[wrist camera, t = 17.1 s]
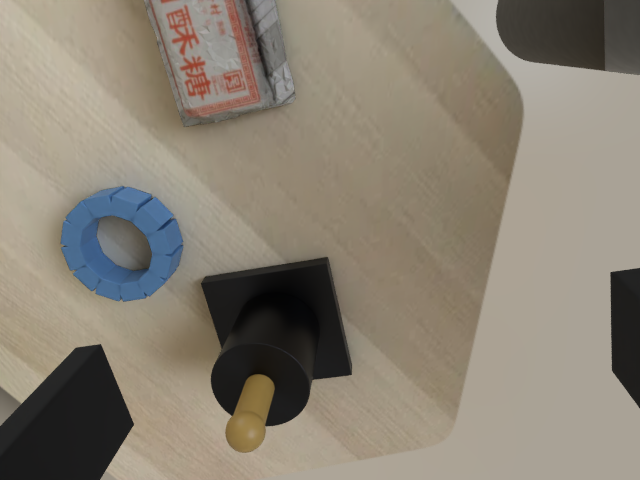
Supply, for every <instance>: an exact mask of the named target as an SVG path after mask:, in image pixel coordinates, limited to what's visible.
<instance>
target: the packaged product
mask: <svg viewBox="0 0 640 480" xmlns="http://www.w3.org/2000/svg"><path fill="white" fill-rule="evenodd" d="M144 3H145V6H146V10H147V13H148V16H149V19H150V23H151V25H152V28H153V30H154V32H155V34H156V36H157V44H158V47H159V50H160V53H161V56H162V60H163V63H164V66H165V69H166V72H167V74H168V77H169V81H170V85H171V88H172V91H173V94H174V98H175V101H176V104H177V107H178V111H179V114H180V117H181V120H182V123H183V126H184V127H187V126H192V125H197V124H207V123H211V122H215V123H216V122H219V121H222V120H227V119H231V118H235V117H238V116H240V115H242V114H246V113H251V112H255V111H259V110H263V109H268V108H272V107H277V106H281V105H286V104H290V103H292V102H293V101H294V100H295V91H294V83H293V80H292V76H291V73H290V70H289V66H288V63H287V59H286V54H285V49H284V44H283V38H282V33H281V27H280V22H279V17H278V12H277V7H276V2H275V0H144Z"/></svg>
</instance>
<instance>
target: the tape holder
mask: <svg viewBox="0 0 640 480" xmlns="http://www.w3.org/2000/svg"><path fill="white" fill-rule="evenodd" d="M201 285H202V288H203V291H204V294H205V298H206V301H207V304H208V307H209V310H210V313H211V316H212V319H213V323H214V326H215V329H216V332H217V335H218V338H219V341H220V344H221V348H222V350H221V352H220V354H219V356H218V358H217V360H216V362H215V364H214V367H213V370H212V374H211V386H212V390H213V393H214V396H215V398H216V399H217V401H218V403H219V404H220V405H221V407H222V408H223V409H224V410H225V411H226V412H228V413H229V414H230V415H231V416H232V417H231V418H230V419H229V421H228V423H227V426H226V431H225V434H226V439H227V442H228V443H229V445H230V446H231V447H232V448H233V449H234V450H236V451H238V452H242V453H247V452H251V451H253V450H255V449H257V448H258V447H259V446H260V445H261V443H262V442H263V440H264V437H265V433H266V428H265V426H275V425H280V424H283V423H286V422H288V421H290V420H292V419H293V418H295V417H296V416H297V415H299V414H300V412H301V411H302V410H303V409H304V407H305V406H306V404H307V402H308V399H309V395H310V389H311V383H312V380H314V379H323V378H331V377H339V376H348V375H352V363H351V359H350V354H349V350H348V345H347V341H346V336H345V332H344V327H343V322H342V318H341V313H340V309H339V304H338V300H337V295H336V291H335V286H334V282H333V277H332V273H331V268H330V264H329V259H328V257H327V258H320V259H314V260H308V261H301V262H295V263H289V264H282V265H276V266H270V267H264V268H257V269H251V270H245V271H238V272H232V273H226V274H220V275H213V276H207V277H205V278H204V280H203V281H202V283H201Z"/></svg>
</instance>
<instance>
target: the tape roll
mask: <svg viewBox="0 0 640 480" xmlns="http://www.w3.org/2000/svg"><path fill="white" fill-rule="evenodd" d="M111 215H113V216H116V217H119V218H122V219H125V220H128V221H131V222H132V223H133V224H134V225H135V226H136V227H137V228H138V229H139V230H140V231H141V232H142V233H143V234H144V235H145V236H146V237H147V240H148V243H149V246H150V248H151V251H152V258H151V263H150V267H149V268H148V269H142V270H136V271H132V270H129V269H126V268H123V267H120V266H117V265H115V264H114V263H113V262H112V261H111V260H110V259H109V258H108V257H107V256H106V255H105V254H104V253H103V252H102V250H101V247H100V245H99V242H98V239H97V237H96V233H97V227H98V221H99V219H100V218H101V217H106V216H111ZM172 216H173V214H172V213H171V212H170V211H169V210H168V209H167V208H166V207H165V206H164V205H163V204H162V203H161V202H160V201H159V200H158V199H157V198H156V197H155V198H153V199H152V200H151V194H148V193H145V192H142V191H139V190H136V189H133V188H130V187H126V188H125V189H124V186H122V187H116V188H111V189H106V190H101V191H99V192H97V193H96V194H94V195H92V196H90V197H88V198H86V199H85V200H83V201H81V202H80V203H79V204H78V205H77V206H76V207H75V208H74V209H73V210H72V211H71V212H70V213H69V214H68V215H67V216H66V219H67V220H65V221H64V222H63V229H62V236H61V244H62V245H65V246H63V247H62V248H61V249H62V252H63V254H64V257H65V259H66V262H67V264H68V266H69V269H70V270H76V271H75V272H74V273H73V275H74V276H75V277H76V278H77V279H79V280H80V281H81V282H82V283H83V284H84V285H85V286H86V287H87V288H88V289H90V290H91V291H93V290H94V289H95V288H96V287H97V288H96V294H98V295H101V296H104V297H107V298H110V299H113V300H116V301H120V300H121V299H122V300H123V302H124V301H131V300H137V299H144V298H146V297H147V296H151V295H152V294H153V293H154V292H155V291H156V290H157V289H159V288H160V287H161V286H162V285H163V284H164V283H165V282H166V281H167V280H168V279H169V278H170V276H171V275H172V274H173V273H174V272H175V271H176V268H177V267H178V266H179V262H180V257H181V253H182V249H183V245H181V243H182V242H183V240H182V236H181V233H180V230H179V227H178V224H177V221H176V219H172V220H169V219H170V218H171V217H172Z"/></svg>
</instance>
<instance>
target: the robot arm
mask: <svg viewBox="0 0 640 480" xmlns="http://www.w3.org/2000/svg"><path fill="white" fill-rule="evenodd" d="M611 335H612V336H611V338H612V371H613V373H614V374H615V375H616V377H617V378H618V379H619V381H620V382H621V383H622V385H623V386H624V387H625V389H626V390H627V391H628V393H629V394H630V396H631V397H632V398H633V400H634V401H635V402H636V403H637V405H638V406H639V408H640V268H637V269H630V270H623V271H616V272H611ZM133 425H134V423H133V421H132V418H131V416H130V413H129V411H128V409H127V406H126V404H125V401H124V399H123V396H122V394H121V392H120V389H119V387H118V384H117V382H116V379H115V377H114V375H113V372H112V370H111V367H110V365H109V363H108V360H107V358H106V355H105V353H104V350H103V348H102V346H101V344H99V345H92V346H85V347H78V348H75V349H74V350H73V351H72V352H71V353H70V354H69V355H68V356H67V358H66V359H65V360H64V361H63V362H62V363H61V364H60V365H59V366H58V367H57V368H56V369H55V370H54V371H53V372H52V373H51V374H50V375H49V376H48V377H47V378H46V379H45V380H44V381H43V382H42V383H41V384H40V386H39V387H38V388H37V389H36V390H35V391H34V392H33V393H32V394H31V395H30V396H29V397H28V398H27V399H26V400H25V401H24V402H23V403H22V404H21V405H20V406H19V407H18V408H17V410H15V411H14V413H13V414H12V415H11V416H10V417H9V418H8V419H7V420H6V421H5V422H4V423H3V424H2V425H1V426H0V480H100V479H101V477H102V475H103V474H104V472H105V471H106V469H107V467H108V466H109V464H110V462H111V461H112V459H113V458H114V456H115V454H116V453H117V451H118V450H119V448H120V446H121V445H122V443H123V441H124V440H125V438H126V437H127V435H128V433H129V432H130V430H131V428H132V427H133Z"/></svg>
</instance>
